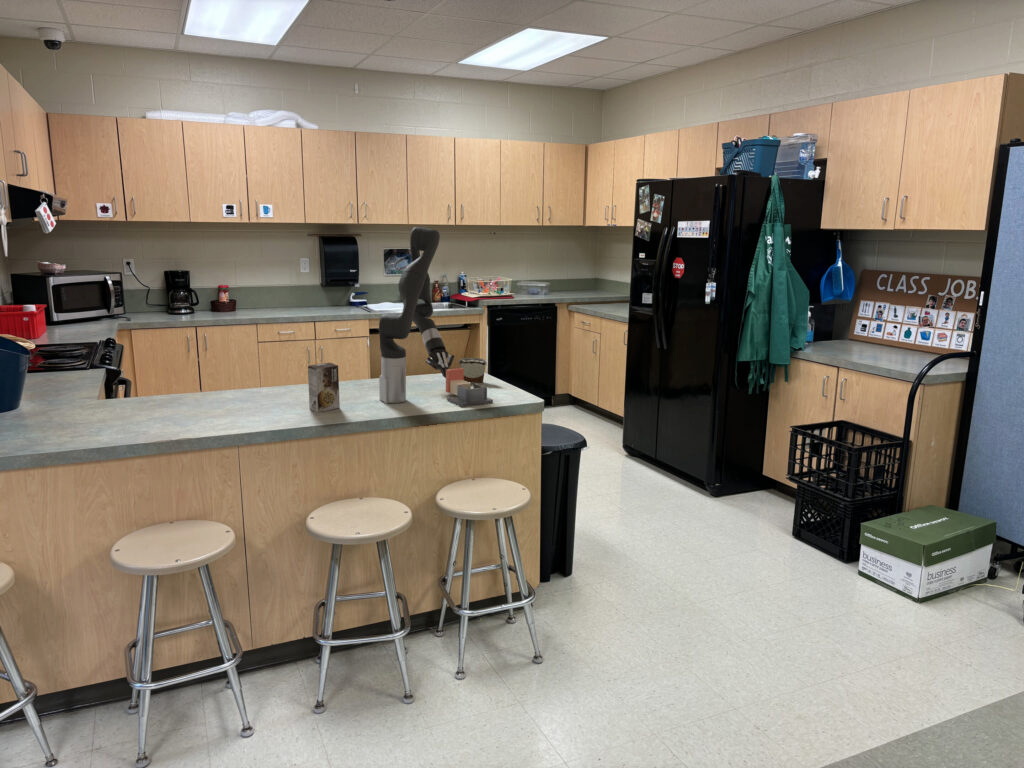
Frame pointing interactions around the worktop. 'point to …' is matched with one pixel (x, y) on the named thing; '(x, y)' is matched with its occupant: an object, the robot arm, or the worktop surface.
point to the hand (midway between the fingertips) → (447, 376)
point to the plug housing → (470, 396)
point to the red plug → (455, 380)
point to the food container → (473, 369)
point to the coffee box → (323, 387)
